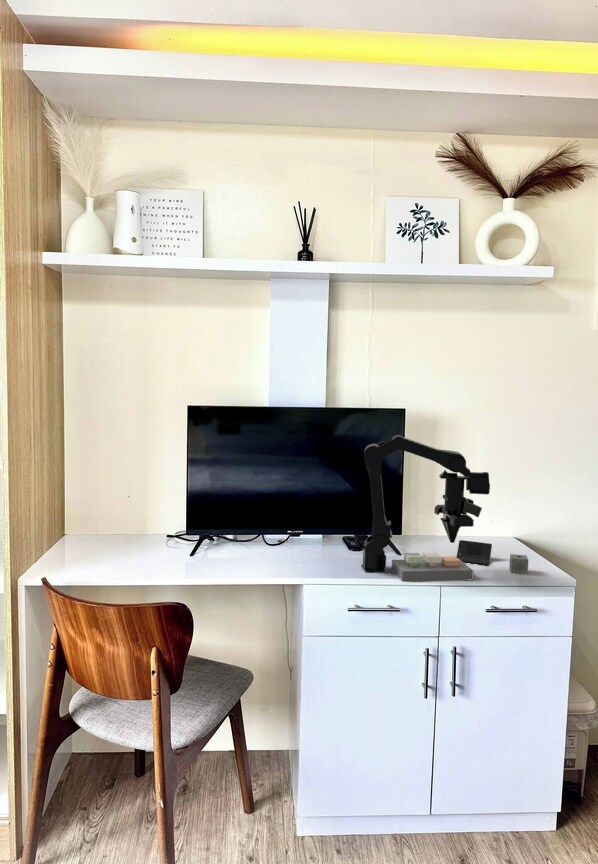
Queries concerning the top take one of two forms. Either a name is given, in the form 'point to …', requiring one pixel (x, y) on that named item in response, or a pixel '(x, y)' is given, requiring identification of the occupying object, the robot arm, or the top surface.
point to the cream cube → (432, 558)
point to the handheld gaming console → (474, 552)
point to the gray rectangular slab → (431, 571)
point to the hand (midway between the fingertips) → (452, 542)
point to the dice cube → (518, 564)
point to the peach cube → (450, 561)
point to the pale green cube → (413, 559)
